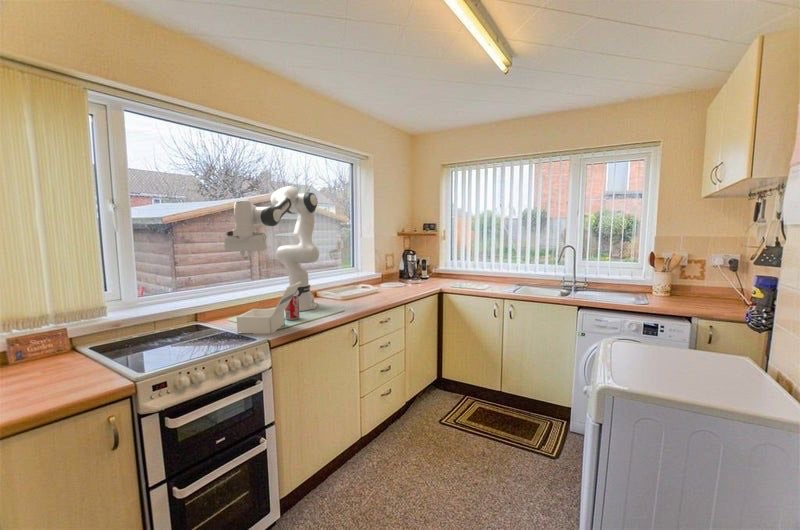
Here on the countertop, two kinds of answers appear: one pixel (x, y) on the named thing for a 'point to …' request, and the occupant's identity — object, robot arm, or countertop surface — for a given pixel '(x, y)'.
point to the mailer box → (260, 321)
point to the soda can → (292, 308)
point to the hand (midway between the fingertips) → (246, 260)
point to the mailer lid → (286, 298)
